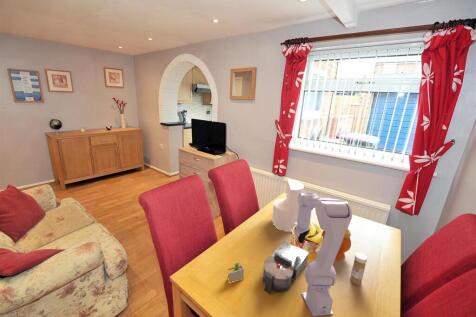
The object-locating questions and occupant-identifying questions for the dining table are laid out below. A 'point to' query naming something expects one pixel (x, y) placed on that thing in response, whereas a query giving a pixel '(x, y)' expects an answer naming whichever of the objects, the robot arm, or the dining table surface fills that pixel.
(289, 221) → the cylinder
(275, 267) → the lid
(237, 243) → the dining table surface
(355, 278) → the sprinkles bottle
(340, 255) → the orange lumpy piece
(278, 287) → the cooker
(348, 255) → the dining table surface
